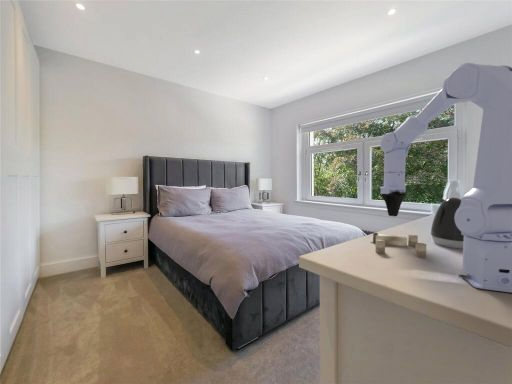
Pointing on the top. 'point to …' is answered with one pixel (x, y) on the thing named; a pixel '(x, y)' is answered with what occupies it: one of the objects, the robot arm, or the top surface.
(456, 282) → the top surface
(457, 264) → the top surface
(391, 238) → the hinged leg
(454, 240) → the dark grey tapered dome
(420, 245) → the stool seat
